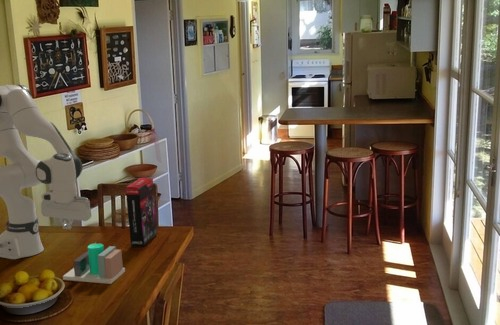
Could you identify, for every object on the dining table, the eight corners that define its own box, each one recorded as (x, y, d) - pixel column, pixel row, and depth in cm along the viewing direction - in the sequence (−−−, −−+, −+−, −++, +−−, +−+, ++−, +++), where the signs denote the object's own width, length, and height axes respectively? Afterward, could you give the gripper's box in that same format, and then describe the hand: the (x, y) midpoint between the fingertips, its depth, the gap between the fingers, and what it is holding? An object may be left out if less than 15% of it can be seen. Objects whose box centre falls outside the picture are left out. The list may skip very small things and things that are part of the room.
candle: (103, 274, 229) (101, 244, 227) (88, 274, 229) (85, 245, 226) (107, 267, 235) (104, 239, 232) (91, 268, 235) (89, 239, 232)
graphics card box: (144, 247, 260) (140, 187, 254) (129, 247, 262) (124, 186, 256) (157, 234, 277) (154, 177, 271) (143, 234, 278) (139, 177, 272)
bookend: (74, 275, 228) (73, 260, 227) (87, 265, 238) (86, 251, 236) (80, 276, 228) (79, 261, 226) (93, 266, 237) (92, 251, 236)
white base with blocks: (63, 279, 229) (60, 253, 226) (79, 267, 240) (76, 242, 238) (111, 283, 224) (109, 257, 222) (125, 271, 235) (123, 246, 233)
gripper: (93, 195, 234) (95, 228, 237) (46, 190, 239) (49, 223, 242) (85, 200, 228) (87, 234, 231) (37, 195, 233) (40, 228, 236)
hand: (67, 228), depth 237 cm, fingers closed
